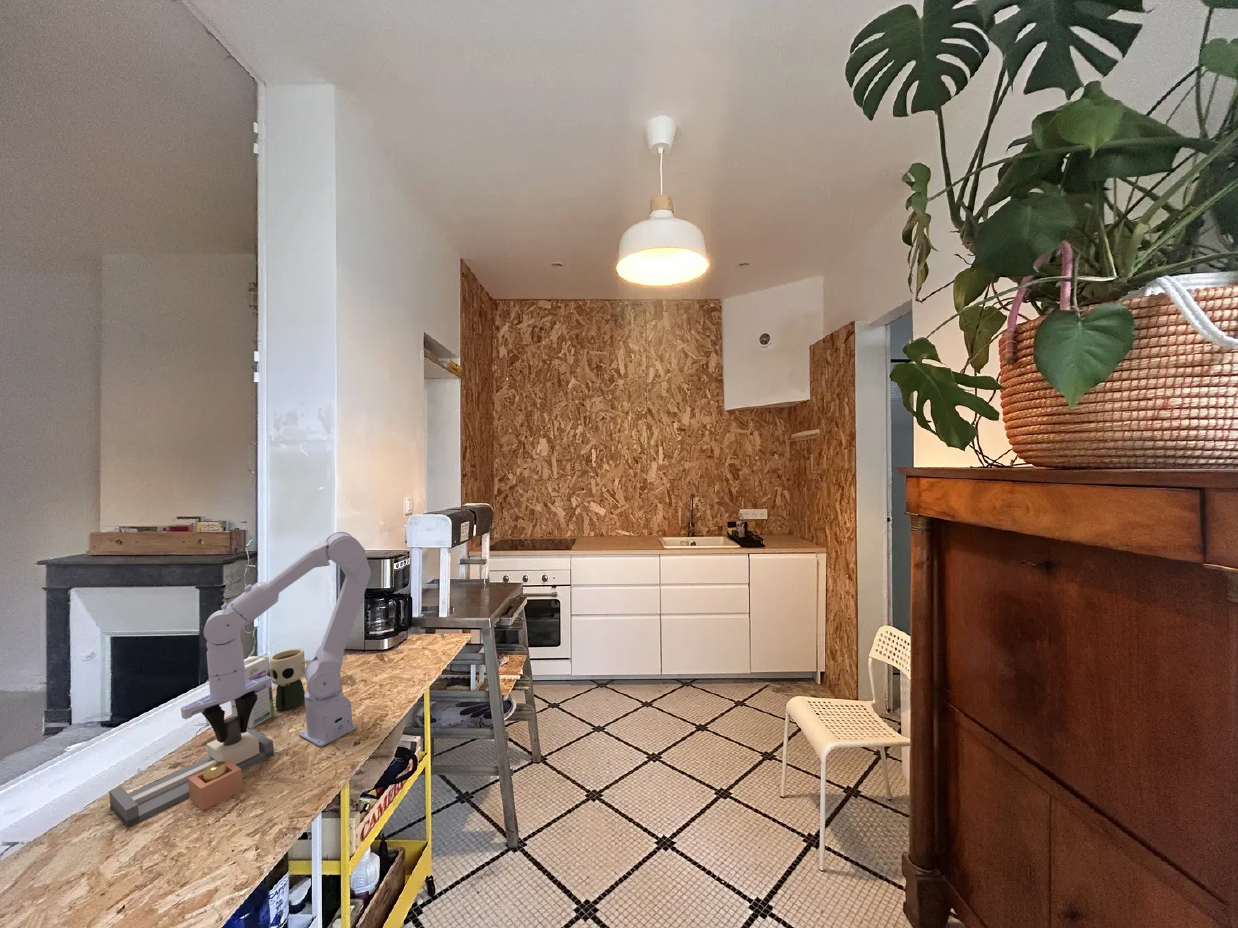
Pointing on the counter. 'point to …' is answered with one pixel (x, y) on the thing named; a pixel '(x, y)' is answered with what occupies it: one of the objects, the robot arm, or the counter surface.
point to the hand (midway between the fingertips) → (232, 735)
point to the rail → (172, 787)
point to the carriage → (233, 744)
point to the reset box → (215, 787)
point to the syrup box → (258, 691)
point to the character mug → (288, 677)
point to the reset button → (214, 771)
